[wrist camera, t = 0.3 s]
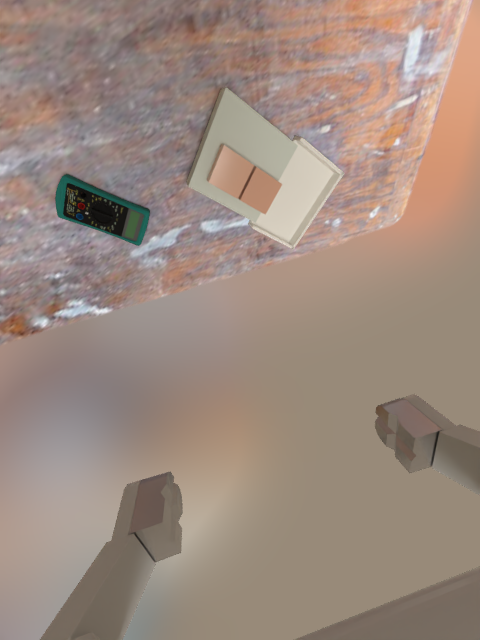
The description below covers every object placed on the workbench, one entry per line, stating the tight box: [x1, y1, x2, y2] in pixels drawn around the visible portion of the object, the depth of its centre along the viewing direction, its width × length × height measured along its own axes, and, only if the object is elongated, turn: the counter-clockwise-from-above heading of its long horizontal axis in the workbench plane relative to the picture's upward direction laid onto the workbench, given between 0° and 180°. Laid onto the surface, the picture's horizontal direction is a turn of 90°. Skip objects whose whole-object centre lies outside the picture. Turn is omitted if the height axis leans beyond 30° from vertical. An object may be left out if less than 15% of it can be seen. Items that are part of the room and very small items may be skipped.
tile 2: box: [207, 144, 254, 199], centre depth 43 cm, size 6×6×2 cm
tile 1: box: [238, 166, 282, 215], centre depth 46 cm, size 6×6×2 cm
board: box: [187, 87, 298, 223], centre depth 45 cm, size 15×15×4 cm
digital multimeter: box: [55, 174, 150, 246], centre depth 45 cm, size 7×15×3 cm, turn 61°
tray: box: [248, 136, 344, 249], centre depth 52 cm, size 18×12×3 cm
